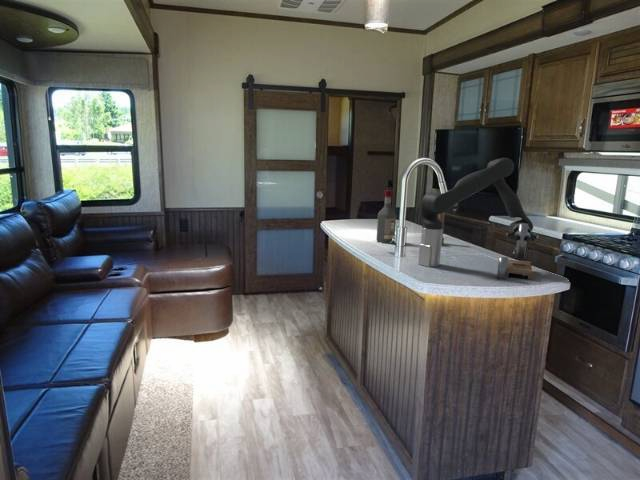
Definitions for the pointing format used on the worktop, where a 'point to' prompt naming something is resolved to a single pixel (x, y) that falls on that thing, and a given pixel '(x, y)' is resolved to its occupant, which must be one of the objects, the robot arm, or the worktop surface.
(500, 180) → the robot arm
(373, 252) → the worktop surface
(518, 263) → the plate
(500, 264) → the short pin
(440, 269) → the worktop surface
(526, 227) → the long pin
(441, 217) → the wooden block
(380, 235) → the liquor
